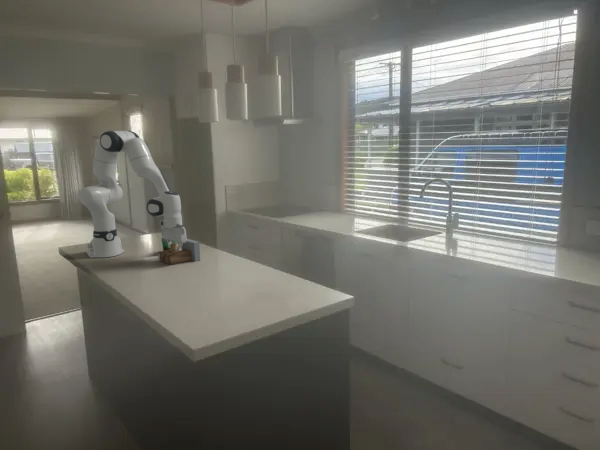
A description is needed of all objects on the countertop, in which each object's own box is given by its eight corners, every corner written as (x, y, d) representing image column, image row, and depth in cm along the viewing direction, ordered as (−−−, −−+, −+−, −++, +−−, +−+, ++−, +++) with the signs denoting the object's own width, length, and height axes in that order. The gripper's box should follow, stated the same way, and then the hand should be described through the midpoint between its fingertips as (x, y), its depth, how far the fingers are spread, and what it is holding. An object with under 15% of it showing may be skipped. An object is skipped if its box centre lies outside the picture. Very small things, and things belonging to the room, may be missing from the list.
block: (159, 260, 229) (159, 251, 228) (180, 256, 237) (179, 247, 236) (171, 264, 221) (170, 255, 220) (192, 260, 229) (191, 251, 228)
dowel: (170, 258, 229) (169, 243, 227) (177, 257, 231) (176, 242, 230) (174, 260, 226) (173, 244, 224) (181, 258, 229) (180, 243, 227)
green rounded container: (172, 255, 239) (171, 238, 238) (162, 255, 241) (161, 237, 239) (183, 250, 251) (181, 233, 250) (173, 250, 253) (171, 233, 251)
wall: (177, 255, 239) (176, 237, 238) (182, 254, 241) (181, 237, 240) (195, 261, 227) (194, 242, 225) (200, 260, 229) (199, 241, 227)
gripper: (189, 224, 220) (190, 251, 223) (169, 220, 234) (171, 245, 237) (177, 226, 216) (179, 253, 218) (158, 221, 230) (160, 247, 233)
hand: (175, 249), depth 228 cm, fingers open, 8 cm apart
